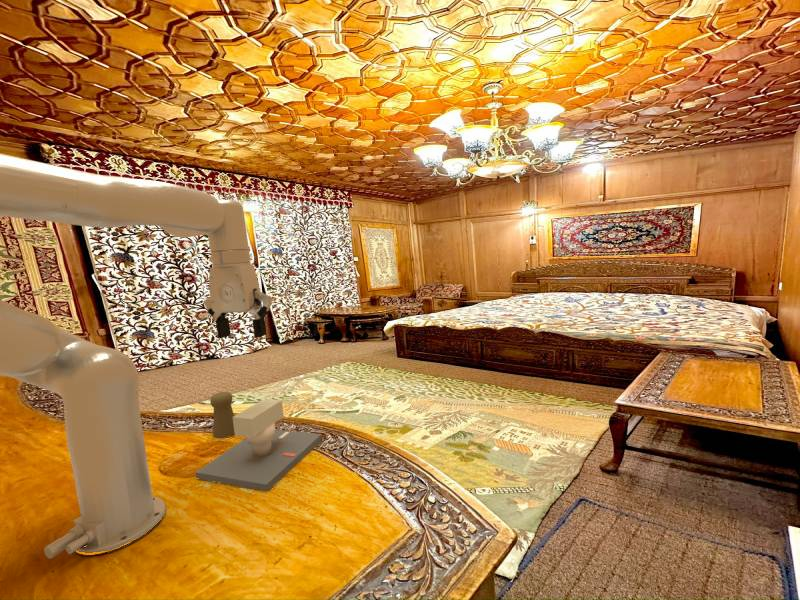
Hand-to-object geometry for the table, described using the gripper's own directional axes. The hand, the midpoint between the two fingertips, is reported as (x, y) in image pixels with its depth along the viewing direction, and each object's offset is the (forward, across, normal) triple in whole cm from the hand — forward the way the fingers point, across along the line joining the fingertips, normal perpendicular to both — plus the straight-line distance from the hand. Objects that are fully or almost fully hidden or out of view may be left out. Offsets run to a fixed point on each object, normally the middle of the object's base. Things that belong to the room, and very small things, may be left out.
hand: (242, 336), depth 79 cm
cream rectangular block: (+23, +3, -1) cm, 23 cm away
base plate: (+28, +2, -2) cm, 28 cm away
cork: (+28, -16, +7) cm, 33 cm away
